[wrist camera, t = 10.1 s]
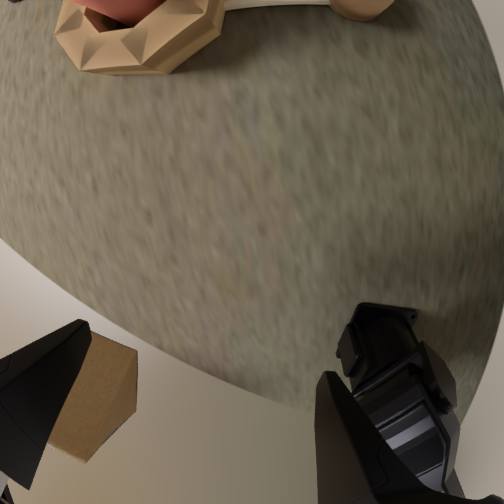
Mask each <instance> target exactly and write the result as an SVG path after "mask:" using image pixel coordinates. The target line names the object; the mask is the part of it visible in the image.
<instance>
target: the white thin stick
mask: <svg viewBox="0 0 504 504" xmlns="http://www.w3.org/2000/svg"><path fill="white" fill-rule="evenodd" d="M291 4H321V5H330V1H329V0H227V1H225V4H224V11H226V10H233V9H240V8H249V7H259V6H271V5H291Z"/></svg>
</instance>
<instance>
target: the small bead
mask: <svg viewBox="0 0 504 504" xmlns="http://www.w3.org/2000/svg"><path fill="white" fill-rule="evenodd" d="M329 1H330V5H329V7H330V8H331V9H332V10H333V11H335V12H336V13H337V14H339V15H341V16H342V17H344V18H347V19H350V20H353V21H361V22H363V21H370V20H373V19H375V18H376V17H377V16H378V15H380V14H381V13H382V12H383V11H384V10H385V9H386V8H387V7H388V6H390V5H391V4H392V3H393V2H394V0H329Z"/></svg>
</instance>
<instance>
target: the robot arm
mask: <svg viewBox="0 0 504 504" xmlns="http://www.w3.org/2000/svg"><path fill="white" fill-rule="evenodd" d="M362 308H364V309H363V310H360V309H362ZM412 315H413V316H412ZM417 317H418V313H417V312H416V310H411V309H403V308H395V307H388V306H380V305H373V304H366V303H361V304H359V305H357V307H356V309H355V311H354V314H353V316H352V318H351V321H350V323H348V324H347V325H346V327H345V330H344V332H343V334H342V336H341V338H340V341H339V343H338V349H337V351H336V356H337V358H339V359H341V362H342V367H343V372H344V375H345V377H349V379H350V384H351V389H352V393H351V392H350V391H349V390H348V388H347V387H346V385H345V384H344V383H343V381H342V380H341V378H340V377H339V376H338V374H337V373H336V372H335V371H324V372H323V374H322V376H321V378H320V380H319V382H318V384H317V387H316V402H315V422H314V423H315V424H314V427H315V444H316V463H317V488H318V504H504V500H503V499H502V498H501V497H498V496H496V495H493V494H492V495H489V496H487V497H485V498H483V499H480V500H472V499H466V498H465V495H464V493H463V490H462V487H461V485H460V482H459V480H458V477H457V475H456V472H455V469H454V464H455V459H456V453H457V448H458V442H459V435H460V424H459V422H458V420H457V417H456V415H455V413H454V411H453V409H454V408H455V407H457V396H456V382H455V379H454V378H453V376H452V374H451V372H450V370H449V369H448V367H447V365H446V363H445V362H444V361H443V360H442V359H441V358H440V357H439V356H438V355H437V354H436V353H435V352H434V351H433V350H432V349H431V348H430V347H429V346H428V345H427V344H426V343H425V342H424V341H421V342H420V343H419V342H418V340H417V338H416V336H415V334H414V332H413V330H412V326H413V325H414V323H415V321H416V319H417ZM91 342H92V335H91V331H90V327H89V323H88V322H87V321H85V320H82V319H77V320H75V321H73V322H71V323H69V324H67V325H66V326H63V327H62V328H60V329H58V330H56V331H54V332H52V333H50V334H48V335H46V336H44V337H42V338H40V339H38V340H36V341H34V342H32V343H31V344H29V345H27V346H25V347H23V348H21V349H19V350H17V351H15V352H13V353H12V354H9V355H7V356H6V357H4V358H2V359H0V504H14V502H13V499H12V497H11V494H10V491H9V488H8V485H7V482H8V479H9V477H10V478H11V479H13V480H14V481H15V482H17V483H18V484H20V485H22V486H23V487H24V488H26V489H27V490H29V489H30V487H31V484H32V481H33V478H34V476H35V473H36V470H37V467H38V465H39V462H40V460H41V457H42V454H43V451H44V449H45V446H46V444H47V442H48V439H49V437H50V434H51V432H52V430H53V427H54V425H55V423H56V421H57V418H58V416H59V414H60V412H61V410H62V407H63V405H64V403H65V401H66V399H67V397H68V395H69V393H70V391H71V389H72V386H73V384H74V382H75V380H76V378H77V376H78V374H79V372H80V370H81V367H82V365H83V362H84V360H85V357H86V354H87V352H88V349H89V347H90V344H91Z"/></svg>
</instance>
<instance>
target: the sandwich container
mask: <svg viewBox="0 0 504 504" xmlns="http://www.w3.org/2000/svg"><path fill="white" fill-rule="evenodd" d="M90 331H91V330H90ZM91 335H92V342H91V344H90V347H89V349H88V352H87V354H86V357H85V360H84V362H83V365H82V367H81V370H80V372H79V374H78V376H77V378H76V380H75V382H74V384H73V386H72V389H71V391H70V393H69V395H68V397H67V399H66V401H65V403H64V405H63V407H62V410H61V412H60V414H59V416H58V418H57V421H56V423H55V425H54V427H53V430H52V432H51V434H50V437H49V439H48V442H47V444H46V445H48V446H50V447H52V448H54V449H55V450H57V451H59V452H61V453H63V454H65V455H67V456H69V457H71V458H73V459H75V460H77V461H79V462H81V463H84V464H86V463H87V462H88V461H89V459H90V458H91V457H92V456H93V455H94V454H95V452H96V451H97V450H98V449H99V448H100V447H101V445H103V444H104V443H105V442H106V440H107V439H108V438H109V437H110V436H111V435H113V433H114V432H115V431H116V430H117V429H118V428H119V427H120V426H121V425H122V424H123V423H124V422H125V421H126V420H127V419H128V418H129V417H131V416H132V415H133V414H134V413H135V412H136V404H137V379H138V351H137V350H135V349H132V348H130V347H127V346H125V345H123V344H120V343H118V342H116V341H113V340H111V339H109V338H106V337H104V336H102V335H100V334H98V333H95V332H93V331H91Z"/></svg>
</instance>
